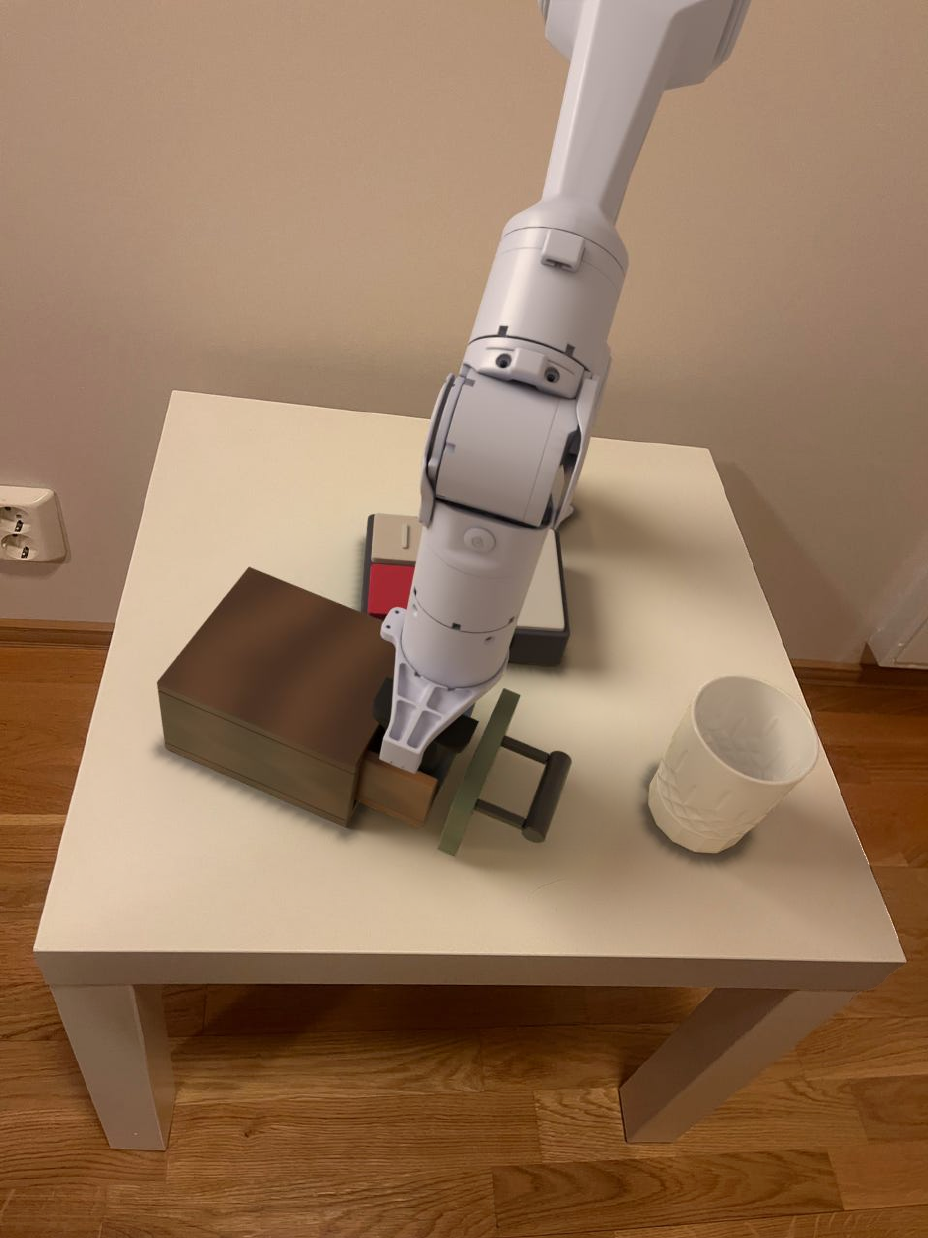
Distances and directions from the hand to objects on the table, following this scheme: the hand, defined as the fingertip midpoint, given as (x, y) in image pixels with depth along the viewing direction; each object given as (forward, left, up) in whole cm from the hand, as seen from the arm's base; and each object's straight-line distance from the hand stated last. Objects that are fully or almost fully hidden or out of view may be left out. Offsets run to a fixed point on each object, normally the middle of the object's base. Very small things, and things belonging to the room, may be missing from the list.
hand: (429, 737), depth 56 cm
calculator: (-14, -8, -5) cm, 17 cm away
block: (0, 0, -1) cm, 1 cm away
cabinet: (+3, -8, -5) cm, 10 cm away
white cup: (-12, +15, -5) cm, 19 cm away
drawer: (0, +1, -4) cm, 4 cm away
